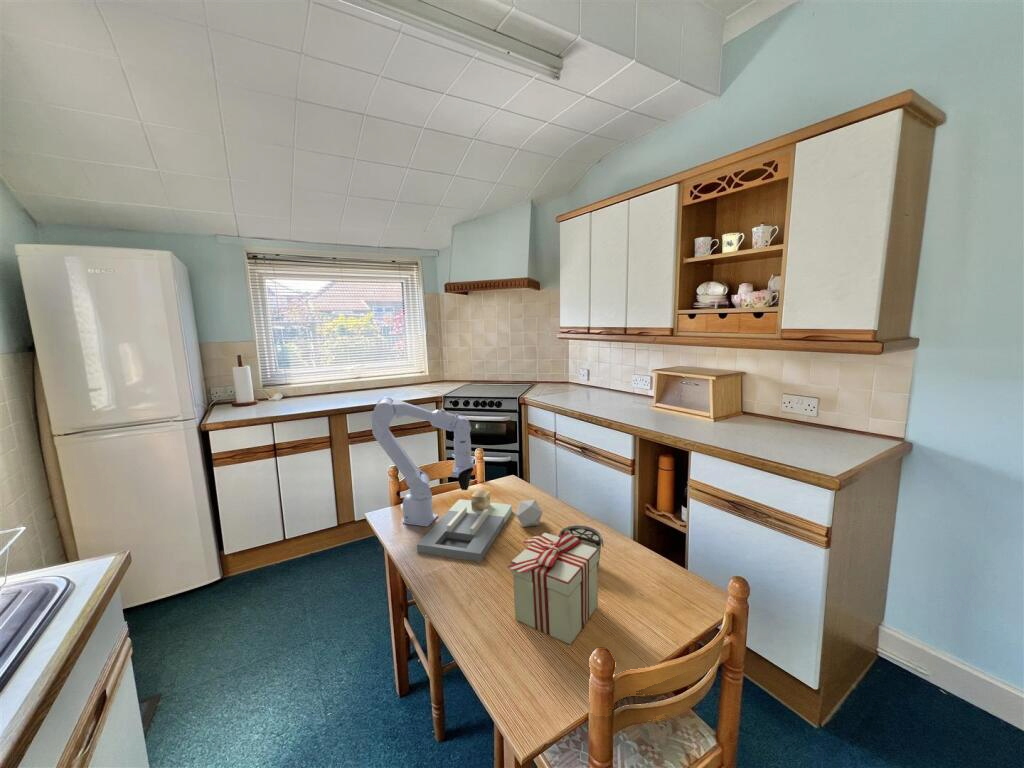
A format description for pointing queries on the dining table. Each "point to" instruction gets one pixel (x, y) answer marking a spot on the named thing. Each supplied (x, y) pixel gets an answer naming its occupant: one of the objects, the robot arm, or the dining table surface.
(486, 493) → the maple block
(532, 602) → the gift box
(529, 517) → the die
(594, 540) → the dark grey curved piece
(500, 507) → the trap deck
